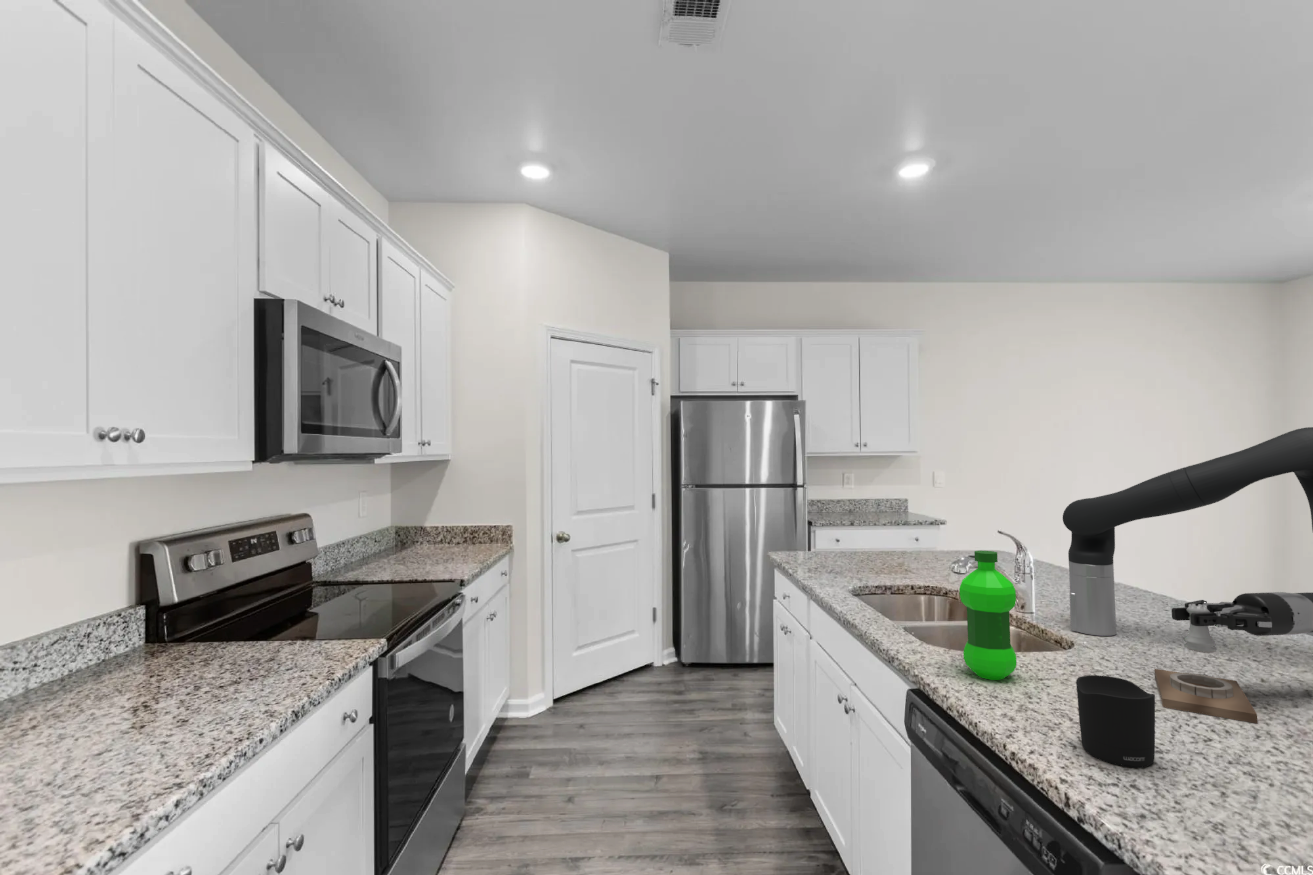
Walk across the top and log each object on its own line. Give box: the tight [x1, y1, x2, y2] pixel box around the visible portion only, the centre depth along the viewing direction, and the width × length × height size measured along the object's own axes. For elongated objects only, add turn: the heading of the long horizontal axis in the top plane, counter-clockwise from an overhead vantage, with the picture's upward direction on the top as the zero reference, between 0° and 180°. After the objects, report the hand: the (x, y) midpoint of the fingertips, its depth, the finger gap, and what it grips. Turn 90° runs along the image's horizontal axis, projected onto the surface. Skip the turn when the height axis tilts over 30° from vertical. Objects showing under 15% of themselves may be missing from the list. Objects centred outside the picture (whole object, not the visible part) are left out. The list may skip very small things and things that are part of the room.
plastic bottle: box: [959, 550, 1017, 681], centre depth 124 cm, size 10×10×25 cm
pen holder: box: [1075, 674, 1156, 769], centre depth 91 cm, size 9×9×10 cm
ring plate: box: [1153, 668, 1258, 724], centre depth 110 cm, size 12×18×3 cm, turn 144°
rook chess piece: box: [1184, 604, 1218, 654], centre depth 111 cm, size 4×4×8 cm
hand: (1183, 616), depth 111 cm, fingers closed on rook chess piece, 3 cm apart
